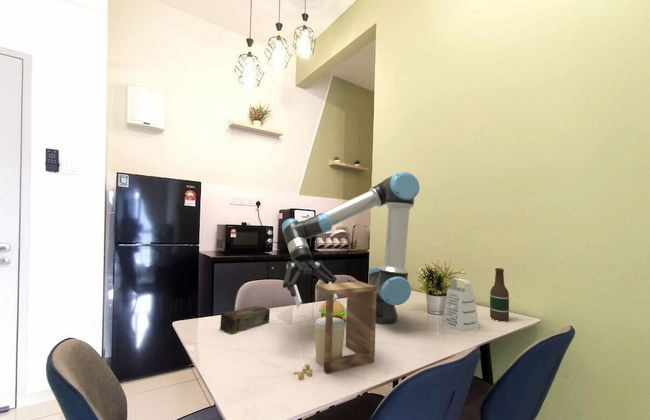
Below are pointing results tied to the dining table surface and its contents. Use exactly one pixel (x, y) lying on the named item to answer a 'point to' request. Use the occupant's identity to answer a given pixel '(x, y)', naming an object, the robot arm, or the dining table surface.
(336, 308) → the hamburger
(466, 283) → the grater
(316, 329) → the coffee cup
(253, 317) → the beverage carton
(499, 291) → the beer bottle
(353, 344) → the shelf alcove
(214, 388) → the dining table surface
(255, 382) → the dining table surface
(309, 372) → the dice set
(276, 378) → the dining table surface
